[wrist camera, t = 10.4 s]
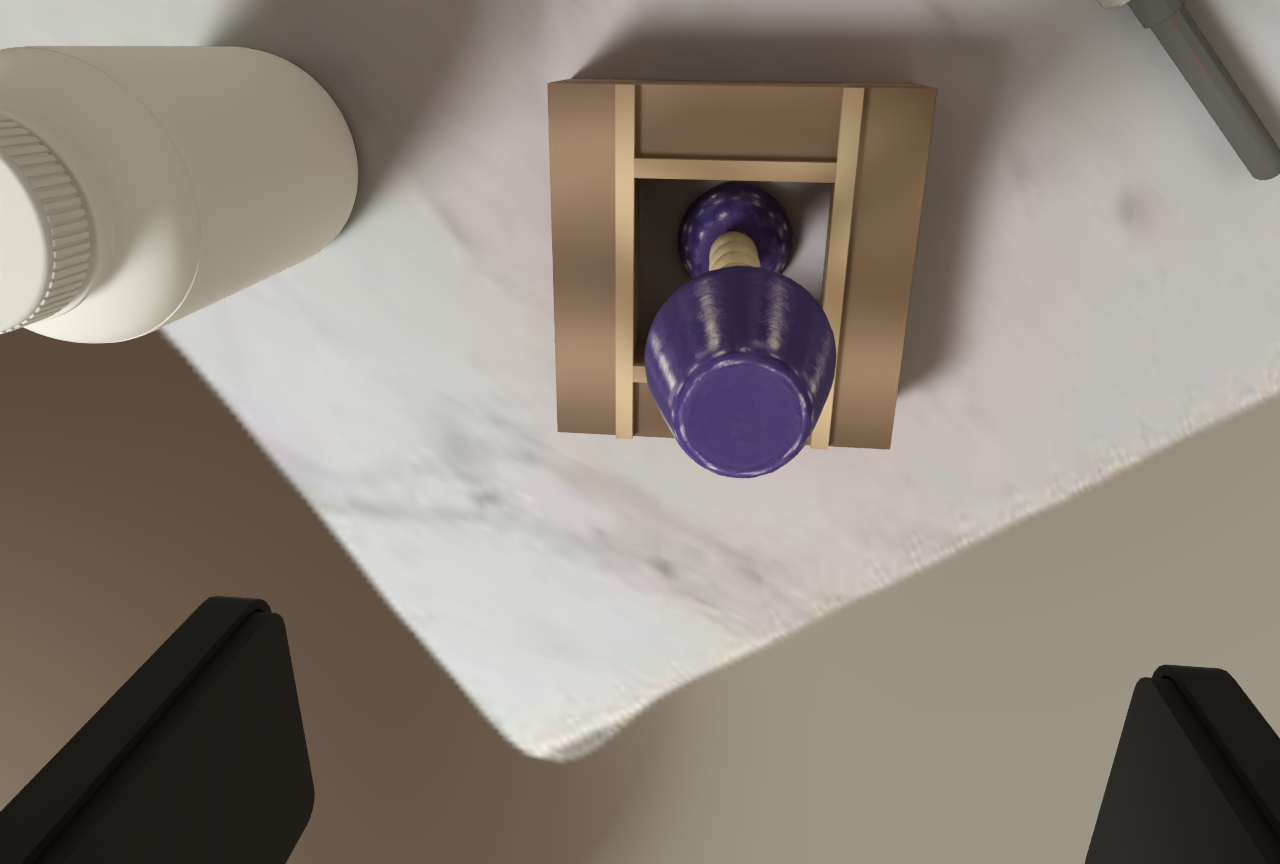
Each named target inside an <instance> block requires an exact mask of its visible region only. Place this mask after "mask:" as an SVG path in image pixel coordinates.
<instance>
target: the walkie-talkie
mask: <svg viewBox="0 0 1280 864" xmlns="http://www.w3.org/2000/svg"><path fill="white" fill-rule="evenodd" d="M1184 1H1185V0H1098V2H1099V3H1100V5H1101V6H1102V7H1103V8H1110V7H1120V6H1122V5H1124V4H1126V3H1128V5H1129V6H1130V8H1131V9H1132V11H1133V12H1134V14H1135V15H1136V17H1137V18H1138V20H1139V21H1140V22H1141V24H1142V25H1143V27H1144V28H1151V30H1152V31H1153V32H1154V34H1155V35H1156V37H1157V38H1158V40H1159V41H1160V43H1161V44H1162V46H1163V47H1164V48H1165V50H1166V51H1167V53H1168V54H1169V56H1170V57H1171V59H1172V60H1173V61H1174V63H1175V64H1176V66H1177V67H1178V69H1179V70H1180V72H1181V73H1182V75H1183V76H1184V77H1185V79H1186V80H1187V82H1188V83H1189V85H1190V86H1191V88H1192V89H1193V91H1194V92H1195V93H1196V95H1197V96H1198V98H1199V99H1200V101H1201V102H1202V104H1203V105H1204V106H1205V108H1206V109H1207V111H1208V112H1209V114H1210V115H1211V117H1212V118H1213V120H1214V121H1215V122H1216V124H1217V125H1218V127H1219V128H1220V130H1221V131H1222V133H1223V134H1224V135H1225V137H1226V138H1227V140H1228V141H1229V143H1230V144H1231V146H1232V147H1233V149H1234V150H1235V151H1236V153H1237V154H1238V156H1239V157H1240V159H1241V160H1242V162H1243V163H1244V165H1245V166H1246V167H1247V169H1248V170H1249V172H1250V173H1251V175H1252V176H1253V177H1254V178H1256V179H1259V180H1268V179H1271V178H1274V177H1275V176H1277V175H1279V174H1280V149H1279V148H1278V146H1277V145H1276V143H1275V142H1274V140H1273V139H1272V137H1271V136H1270V134H1269V133H1268V131H1267V130H1266V128H1265V127H1264V125H1263V124H1262V122H1261V121H1260V119H1259V118H1258V116H1257V115H1256V113H1255V112H1254V110H1253V109H1252V107H1251V106H1250V104H1249V103H1248V101H1247V100H1246V98H1245V97H1244V95H1243V94H1242V92H1241V91H1240V89H1239V88H1238V86H1237V85H1236V83H1235V82H1234V80H1233V79H1232V77H1231V76H1230V74H1229V73H1228V71H1227V70H1226V68H1225V67H1224V65H1223V64H1222V62H1221V61H1220V59H1219V58H1218V56H1217V55H1216V53H1215V52H1214V50H1213V49H1212V47H1211V46H1210V44H1209V43H1208V41H1207V40H1206V38H1205V37H1204V35H1203V34H1202V32H1201V31H1200V29H1199V28H1198V26H1197V25H1196V23H1195V22H1194V20H1193V19H1192V17H1191V16H1190V14H1189V13H1188V11H1187V10H1186V8H1185V7H1184Z"/></svg>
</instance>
